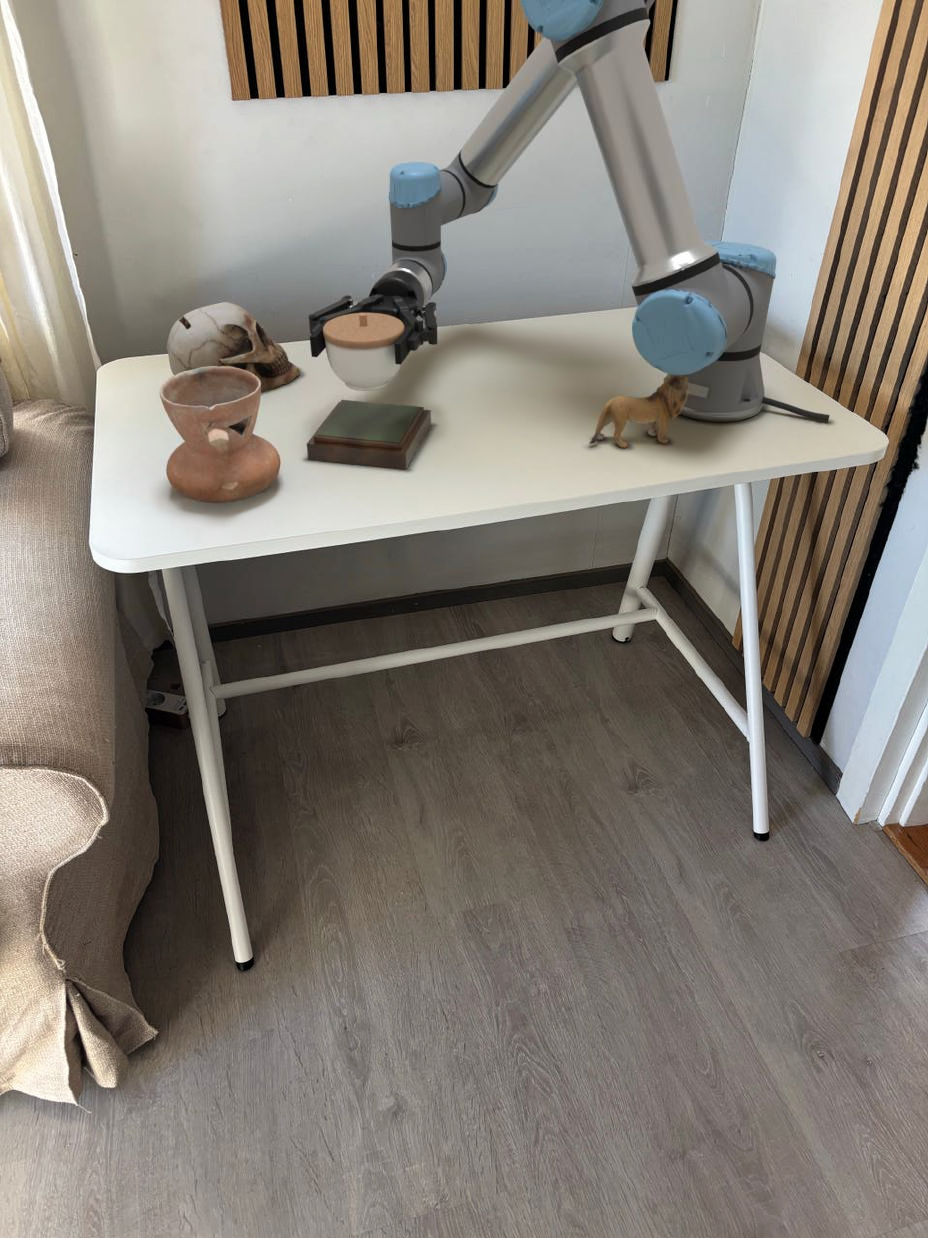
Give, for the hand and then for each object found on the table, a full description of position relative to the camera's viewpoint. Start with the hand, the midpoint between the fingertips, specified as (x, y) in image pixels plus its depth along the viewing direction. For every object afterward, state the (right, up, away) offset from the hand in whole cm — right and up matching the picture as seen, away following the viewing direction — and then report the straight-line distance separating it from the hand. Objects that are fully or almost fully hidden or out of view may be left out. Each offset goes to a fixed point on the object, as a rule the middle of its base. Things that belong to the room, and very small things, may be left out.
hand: (355, 350), depth 125 cm
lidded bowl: (+1, -3, +7) cm, 7 cm away
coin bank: (-22, +3, +29) cm, 37 cm away
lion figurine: (+39, -9, +13) cm, 42 cm away
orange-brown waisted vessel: (-17, -17, +2) cm, 24 cm away
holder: (+1, -10, +12) cm, 16 cm away
